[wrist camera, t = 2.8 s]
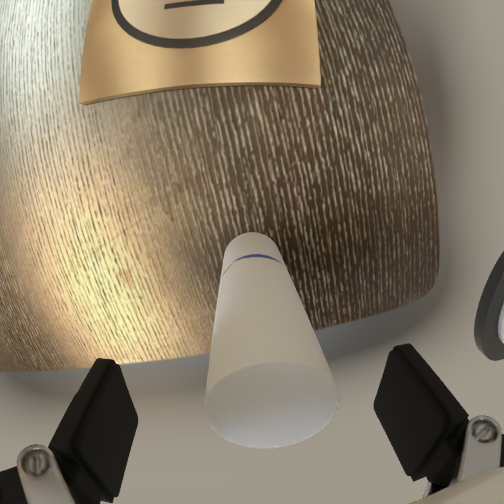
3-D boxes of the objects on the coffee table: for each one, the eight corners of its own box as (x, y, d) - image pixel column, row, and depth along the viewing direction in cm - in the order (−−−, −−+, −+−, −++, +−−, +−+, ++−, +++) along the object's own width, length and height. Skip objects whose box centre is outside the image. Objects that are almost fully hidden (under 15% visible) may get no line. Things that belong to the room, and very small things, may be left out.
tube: (249, 295, 23) (263, 460, 9) (211, 257, 22) (175, 407, 8) (291, 261, 23) (361, 405, 8) (254, 220, 22) (284, 334, 7)
